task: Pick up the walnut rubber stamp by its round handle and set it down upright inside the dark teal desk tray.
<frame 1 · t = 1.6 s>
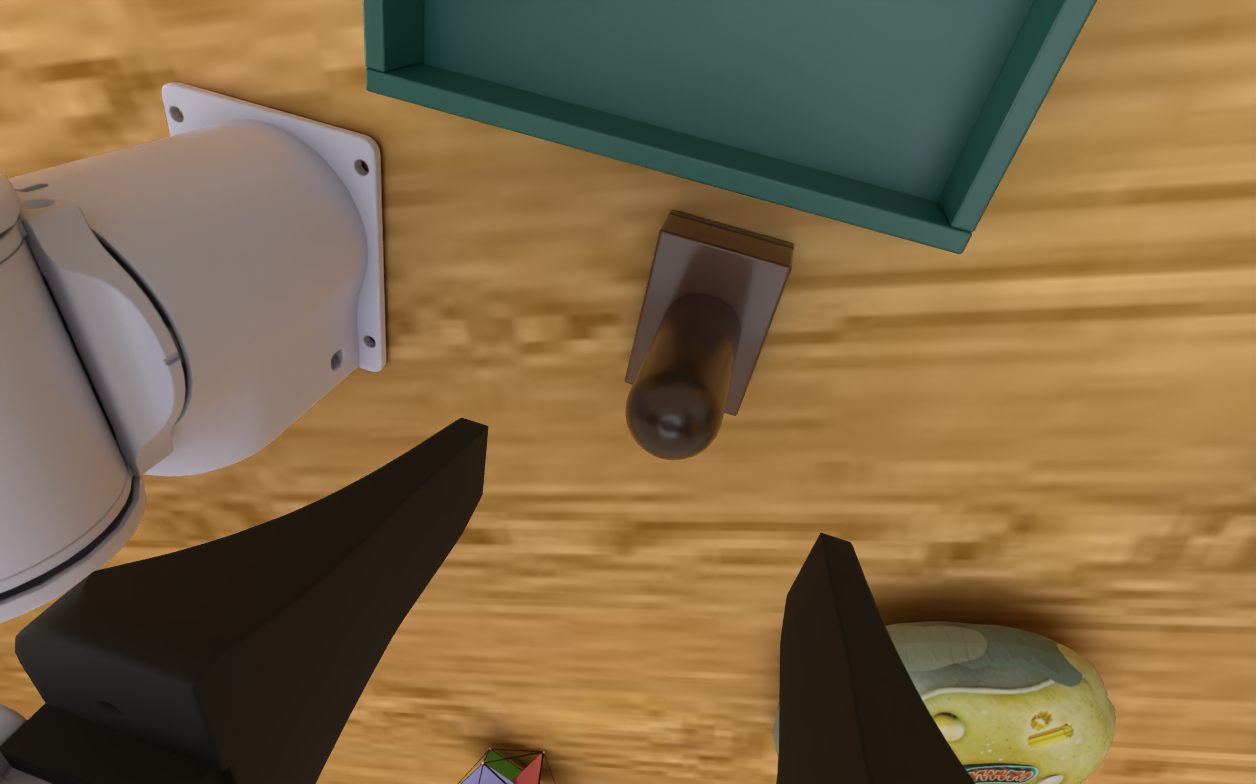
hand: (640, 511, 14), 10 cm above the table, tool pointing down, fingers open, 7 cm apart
cell model: (913, 680, 30), on the table
stamp: (709, 303, 22), on the table
geometric puzzle: (525, 756, 43), on the table
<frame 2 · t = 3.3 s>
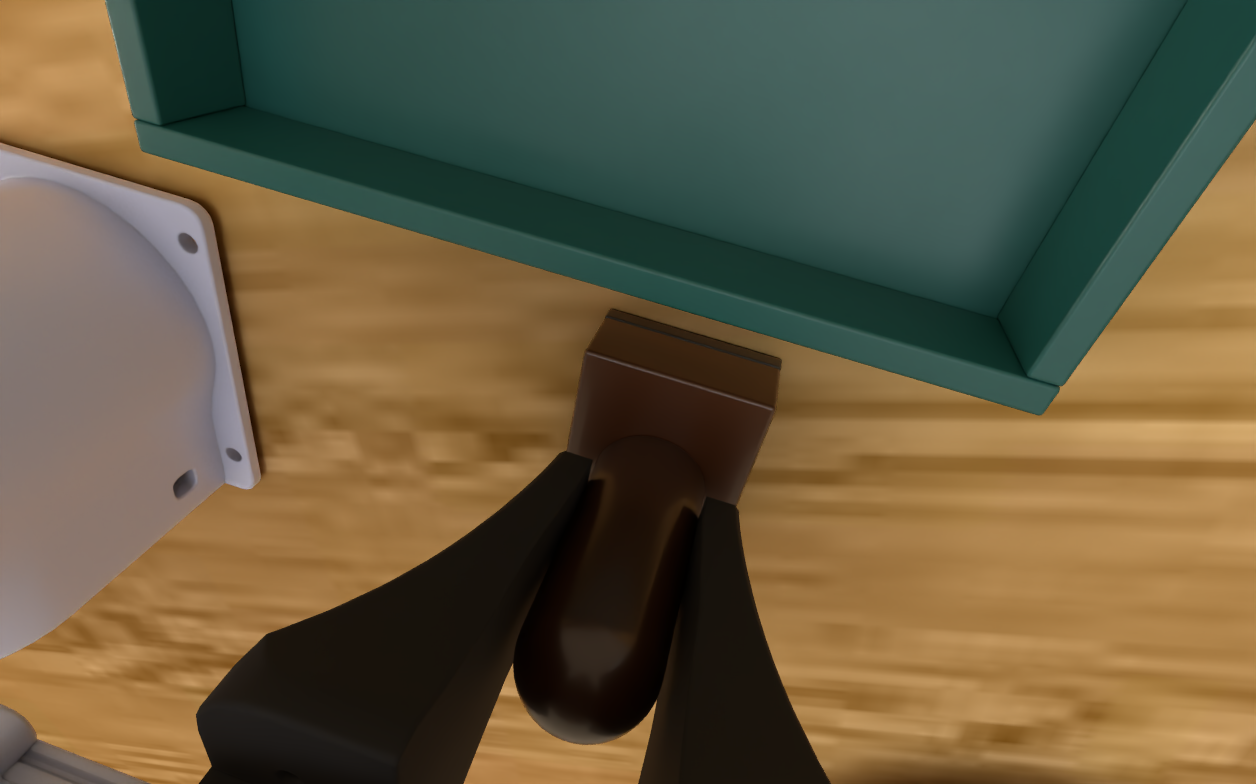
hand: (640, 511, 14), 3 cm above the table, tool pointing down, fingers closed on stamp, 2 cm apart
stamp: (666, 428, 16), on the table, touching gripper
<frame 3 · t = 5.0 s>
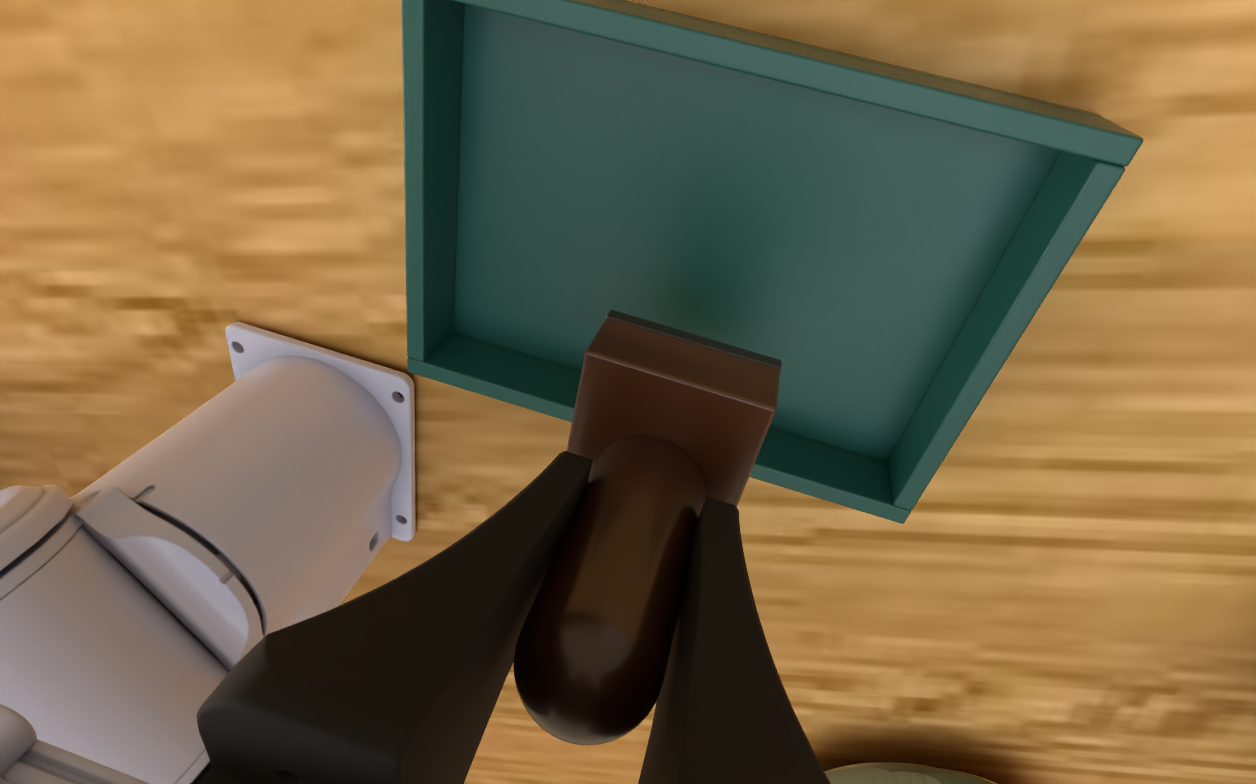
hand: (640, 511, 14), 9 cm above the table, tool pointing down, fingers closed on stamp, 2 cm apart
stamp: (667, 428, 16), point 6 cm above the table, touching gripper
tray: (703, 247, 20), on the table
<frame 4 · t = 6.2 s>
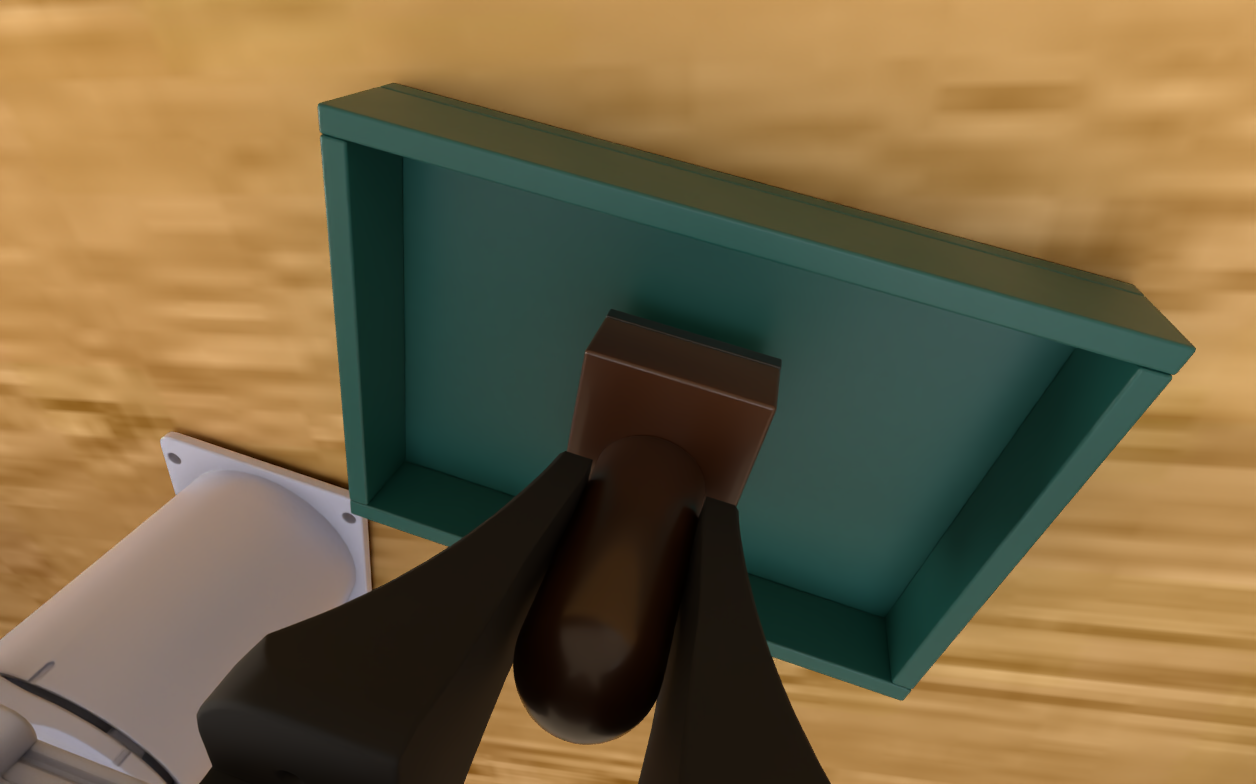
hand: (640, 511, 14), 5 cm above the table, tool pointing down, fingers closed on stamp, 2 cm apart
stamp: (667, 428, 16), point 2 cm above the table, touching gripper
tray: (680, 390, 18), on the table
when the fingers open (4 cm above the table, at t = 6.8 s): stamp stays where it is, resting on tray.
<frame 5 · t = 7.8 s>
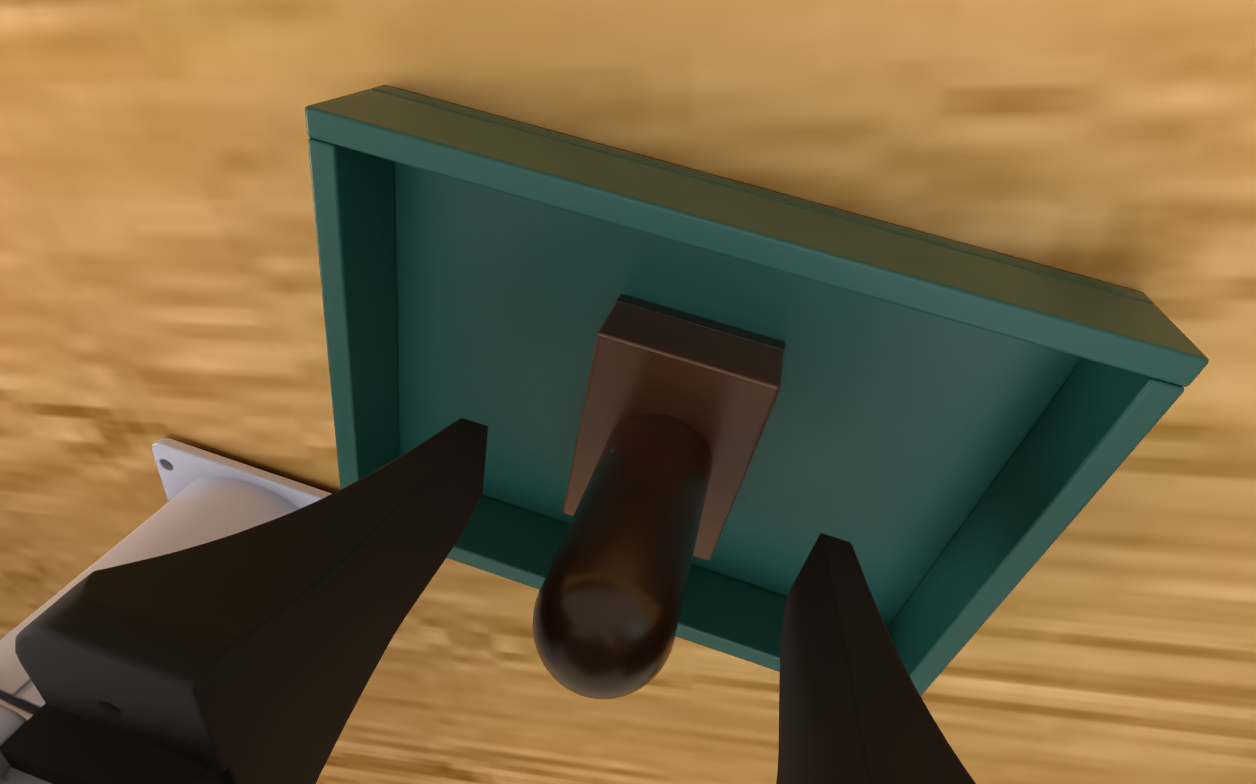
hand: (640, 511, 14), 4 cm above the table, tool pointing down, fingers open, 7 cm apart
stamp: (674, 410, 17), point 1 cm above the table, touching tray
tray: (678, 398, 17), on the table
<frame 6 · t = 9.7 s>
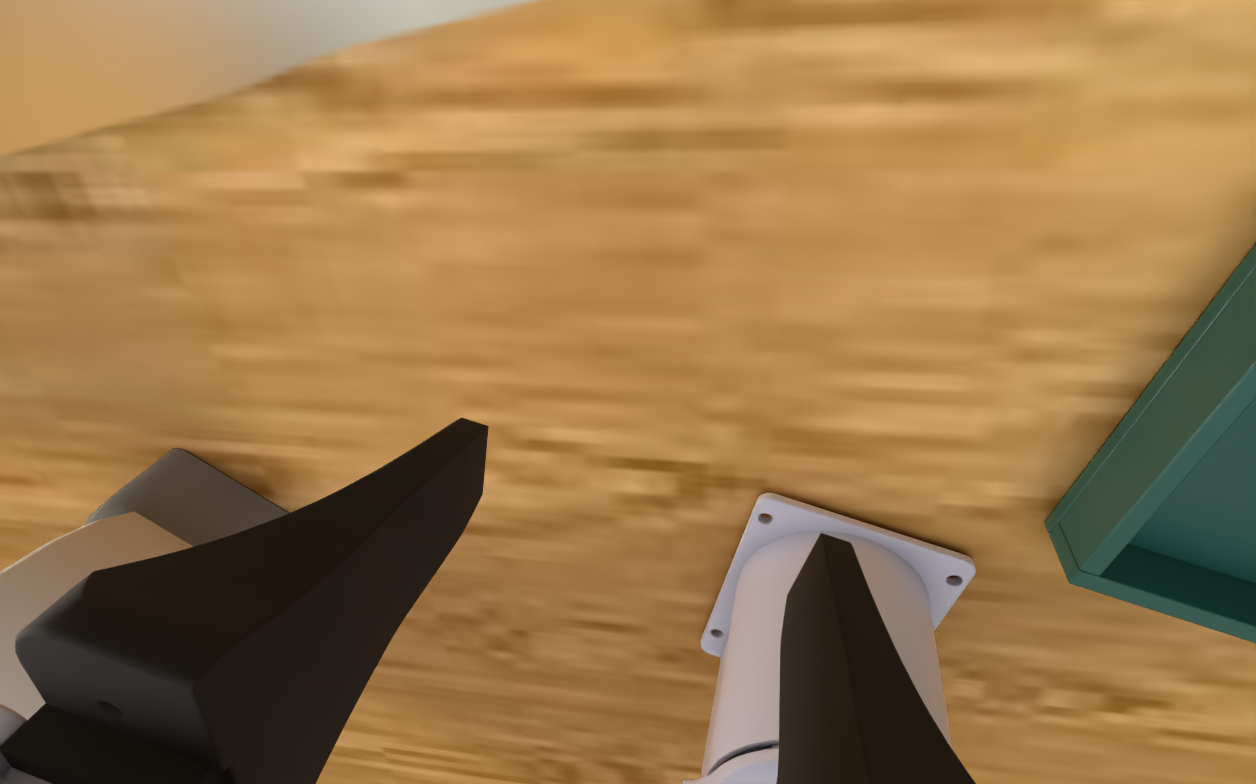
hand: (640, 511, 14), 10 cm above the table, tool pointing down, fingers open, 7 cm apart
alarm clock: (226, 548, 36), on the table
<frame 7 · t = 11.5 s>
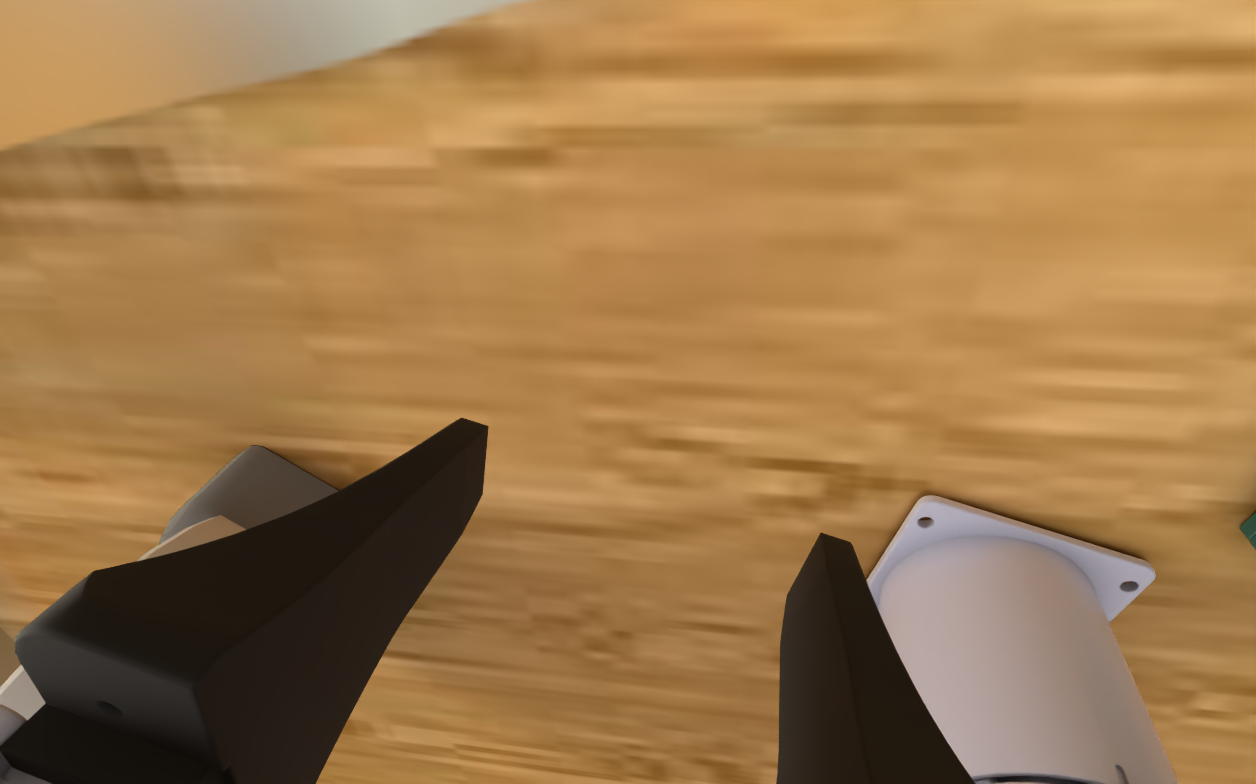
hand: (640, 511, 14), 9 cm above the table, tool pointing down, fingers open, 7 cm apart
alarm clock: (300, 547, 35), on the table
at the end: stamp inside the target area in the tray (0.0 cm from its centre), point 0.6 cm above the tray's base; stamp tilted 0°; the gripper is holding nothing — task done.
